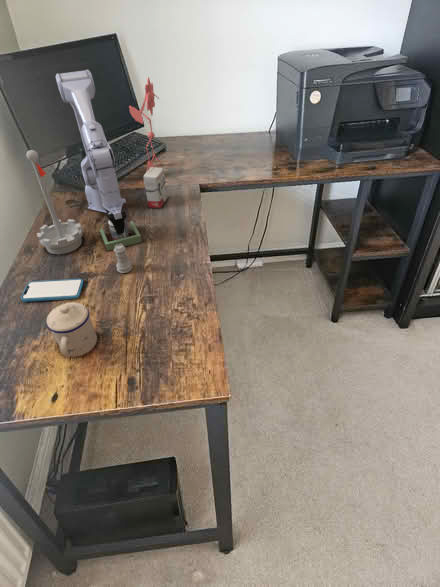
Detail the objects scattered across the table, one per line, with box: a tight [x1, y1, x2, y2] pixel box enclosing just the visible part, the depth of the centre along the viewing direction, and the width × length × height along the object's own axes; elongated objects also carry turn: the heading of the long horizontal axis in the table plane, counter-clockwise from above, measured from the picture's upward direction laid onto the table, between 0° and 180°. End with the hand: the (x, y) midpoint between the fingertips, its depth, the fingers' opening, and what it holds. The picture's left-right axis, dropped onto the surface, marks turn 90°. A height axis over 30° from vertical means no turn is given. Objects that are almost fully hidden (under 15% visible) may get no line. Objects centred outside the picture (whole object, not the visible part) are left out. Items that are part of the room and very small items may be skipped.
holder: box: [99, 220, 143, 252], centre depth 123 cm, size 10×11×2 cm
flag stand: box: [25, 149, 84, 255], centre depth 112 cm, size 13×13×30 cm
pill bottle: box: [107, 212, 130, 241], centre depth 121 cm, size 5×5×9 cm
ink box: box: [142, 166, 168, 209], centre depth 137 cm, size 9×5×12 cm, turn 168°
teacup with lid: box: [46, 301, 98, 358], centre depth 85 cm, size 12×9×12 cm
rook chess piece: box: [113, 244, 133, 274], centre depth 108 cm, size 4×4×8 cm
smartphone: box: [20, 278, 84, 303], centre depth 104 cm, size 8×1×15 cm
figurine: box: [128, 76, 182, 183], centre depth 150 cm, size 15×26×35 cm, turn 177°
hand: (118, 228), depth 122 cm, fingers closed on pill bottle, 5 cm apart
